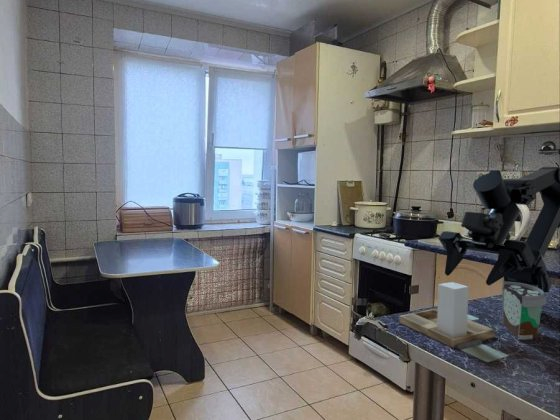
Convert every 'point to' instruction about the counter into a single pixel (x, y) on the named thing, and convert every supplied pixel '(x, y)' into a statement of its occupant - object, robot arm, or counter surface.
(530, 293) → the food container
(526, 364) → the counter surface
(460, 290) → the tall white block
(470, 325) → the puzzle board
